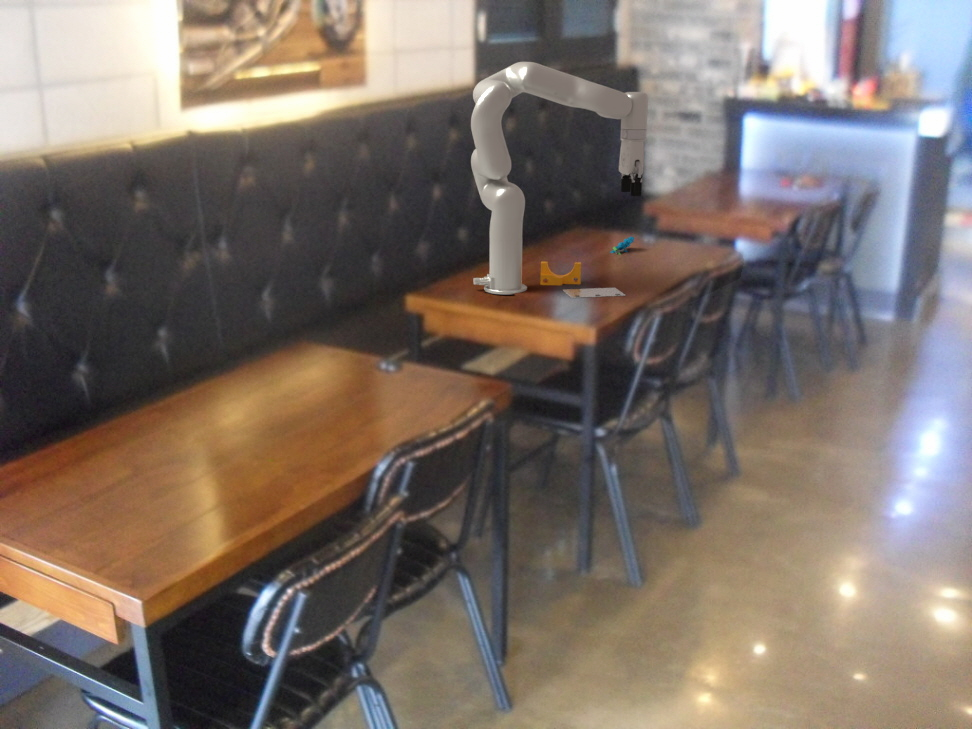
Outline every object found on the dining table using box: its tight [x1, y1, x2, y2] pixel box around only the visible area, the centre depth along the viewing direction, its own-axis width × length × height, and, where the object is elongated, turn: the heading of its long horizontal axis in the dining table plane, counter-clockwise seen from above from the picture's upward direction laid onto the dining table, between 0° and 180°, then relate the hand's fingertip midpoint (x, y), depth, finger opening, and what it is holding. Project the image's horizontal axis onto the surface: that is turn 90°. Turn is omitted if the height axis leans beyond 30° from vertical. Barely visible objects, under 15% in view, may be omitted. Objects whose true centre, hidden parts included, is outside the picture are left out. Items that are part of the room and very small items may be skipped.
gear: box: [609, 235, 635, 256], centre depth 354 cm, size 11×6×10 cm
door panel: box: [562, 287, 626, 299], centre depth 304 cm, size 16×10×1 cm, turn 101°
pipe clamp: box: [539, 261, 582, 286], centre depth 316 cm, size 12×4×6 cm, turn 85°
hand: (630, 193), depth 313 cm, fingers open, 9 cm apart
